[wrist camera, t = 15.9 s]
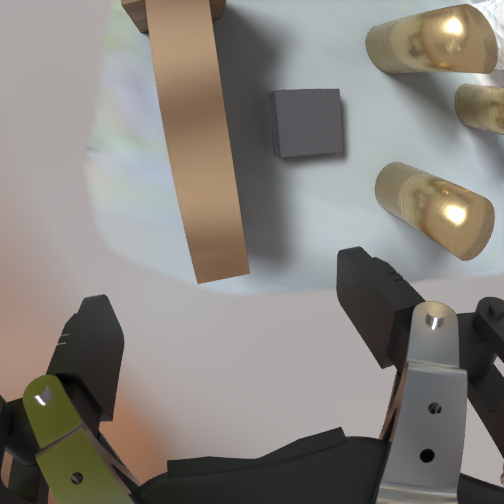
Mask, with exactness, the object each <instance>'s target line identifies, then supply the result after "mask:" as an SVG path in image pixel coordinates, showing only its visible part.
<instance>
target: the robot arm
mask: <svg viewBox="0 0 504 504" xmlns="http://www.w3.org/2000/svg"><path fill="white" fill-rule="evenodd" d="M336 289H337V296H338V300H339V302H340V305H341V306H342V308H343V309H344V311H345V312H346V314H347V315H348V317H349V318H350V320H351V321H352V323H353V324H354V326H355V327H356V329H357V331H358V332H359V334H360V335H361V337H362V338H363V340H364V341H365V343H366V345H367V346H368V348H369V349H370V351H371V352H372V354H373V356H374V357H375V359H376V360H377V362H378V363H379V365H380V367H381V368H382V369H384V368H386V367H389V366H392V365H395V367H396V369H397V372H396V375H395V380H394V385H393V389H392V393H391V397H390V402H389V406H388V410H387V414H386V418H385V421H384V425H383V428H382V430H381V433H380V436H379V439H375V438H371V437H359V436H357V437H356V436H350V437H345V435H344V432H343V430H342V428H341V427H339V428H335V429H332V430H329V431H326V432H322V433H319V434H316V435H312V436H308V437H305V438H301V439H298V440H296V441H294V442H292V443H291V444H288V445H286V446H284V447H282V448H280V449H278V450H276V451H274V452H271V453H269V454H267V455H265V456H263V457H260V458H257V459H240V458H223V457H211V456H208V457H200V458H191V459H181V460H168V461H167V470H168V472H165V473H162V474H160V475H158V476H156V477H154V478H152V479H150V480H148V481H147V482H145V483H144V484H142V483H141V482H140V481H139V480H138V479H137V478H136V477H135V476H134V475H133V474H132V473H131V471H130V470H129V469H128V468H127V466H126V465H125V464H124V463H123V461H122V460H121V459H120V457H119V456H118V455H117V454H116V452H115V451H114V449H113V448H112V447H111V445H110V444H109V443H108V441H107V440H106V438H105V437H104V435H103V434H102V433H101V431H100V430H99V424H100V422H101V421H112V420H113V412H114V405H115V398H116V391H117V384H118V378H119V372H120V366H121V361H122V355H123V350H124V335H123V332H122V329H121V326H120V324H119V322H118V320H117V317H116V315H115V313H114V311H113V308H112V306H111V304H110V302H109V299H108V297H107V296H106V295H104V294H103V295H97V296H91V297H86V298H84V299H83V301H82V304H81V306H80V309H79V311H78V313H76V314H74V315H73V316H72V317H71V318H70V319H69V320H68V322H67V323H66V324H65V326H64V329H63V331H62V334H61V337H60V338H59V341H58V345H57V346H56V348H55V351H54V354H53V356H52V359H51V362H50V364H49V367H48V370H47V372H46V375H42V376H40V377H37V378H36V379H34V380H33V381H32V382H30V384H29V385H28V386H27V387H26V389H25V391H24V394H23V398H20V399H17V400H13V401H10V402H6V401H5V400H4V399H3V398H2V396H1V395H0V504H48V492H49V488H50V490H51V492H52V494H53V496H54V498H55V500H56V502H57V503H58V504H504V488H503V487H500V486H497V485H494V484H490V483H488V482H485V481H482V480H479V479H476V478H473V477H471V476H468V475H465V474H463V473H460V469H461V462H462V455H463V446H464V437H465V426H466V409H467V398H468V399H469V401H470V402H471V404H472V406H473V407H474V409H475V410H476V412H477V414H478V415H479V417H480V419H481V420H482V422H483V423H484V425H485V427H486V429H487V430H488V432H489V434H490V435H491V437H492V439H493V441H494V442H495V444H496V446H497V447H498V449H499V451H500V453H501V455H502V457H503V458H504V377H503V376H502V374H501V373H500V372H499V371H498V369H497V368H496V366H495V365H494V364H493V363H494V361H495V359H496V358H497V356H498V357H499V358H500V359H501V360H502V362H503V363H504V301H503V300H502V299H499V298H495V297H485V298H483V299H481V300H480V301H479V303H478V305H477V308H476V311H475V312H473V313H462V314H456V313H455V312H454V311H453V309H451V308H450V307H449V306H447V305H445V304H443V303H440V302H436V301H435V302H434V301H428V302H426V301H425V300H424V299H423V298H422V297H421V296H420V295H419V294H418V293H417V292H416V291H415V289H414V288H413V287H412V286H411V285H410V284H409V283H408V282H407V281H406V280H403V277H402V276H401V275H400V274H399V273H396V270H394V269H393V268H392V267H391V266H390V265H389V264H388V263H387V262H385V261H383V260H381V259H378V258H376V257H374V258H372V257H371V256H370V255H369V254H368V253H367V252H366V251H365V250H364V249H363V248H362V247H360V246H358V247H353V248H349V249H344V250H340V251H339V252H338V255H337V286H336ZM5 451H6V452H8V453H9V454H10V455H11V456H12V457H13V460H12V465H11V472H10V478H9V485H8V488H7V487H6V486H5V485H4V484H3V482H2V479H1V467H2V462H3V456H4V452H5ZM500 480H501V483H502V485H504V464H503V473H502V475H501V478H500Z"/></svg>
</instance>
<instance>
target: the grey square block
mask: <svg viewBox="0 0 504 504" xmlns="http://www.w3.org/2000/svg"><path fill="white" fill-rule="evenodd" d="M268 94H269V104H270V114H271V124H272V134H273V145H274V154H276V155H277V156H279V157H281V158H283V157H292V156H302V155H313V154H324V153H337V152H343V142H342V121H341V105H340V92H339V89H298V90H278V91H271V92H268Z"/></svg>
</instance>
